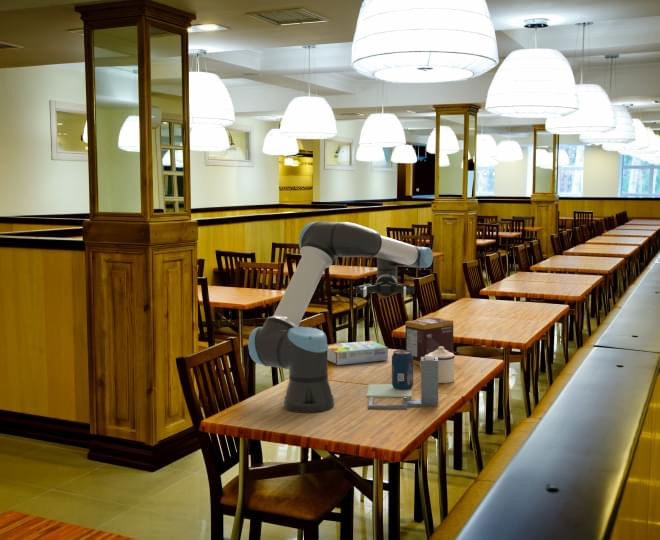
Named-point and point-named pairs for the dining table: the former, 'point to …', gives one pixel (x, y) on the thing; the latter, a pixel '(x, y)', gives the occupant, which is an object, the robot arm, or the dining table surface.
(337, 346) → the snack box
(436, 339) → the supplement box
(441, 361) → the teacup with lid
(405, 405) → the grey l-shaped piece
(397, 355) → the soda can
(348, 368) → the dining table surface
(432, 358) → the plunger
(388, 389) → the pad
